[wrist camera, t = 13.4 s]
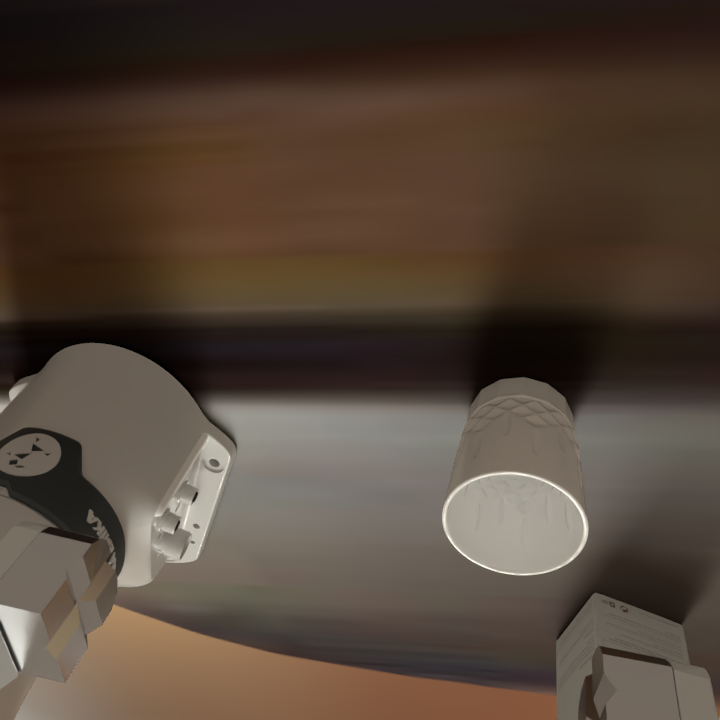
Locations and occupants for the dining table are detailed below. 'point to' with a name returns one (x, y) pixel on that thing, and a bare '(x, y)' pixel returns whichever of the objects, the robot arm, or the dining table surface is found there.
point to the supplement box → (610, 644)
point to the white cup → (517, 481)
